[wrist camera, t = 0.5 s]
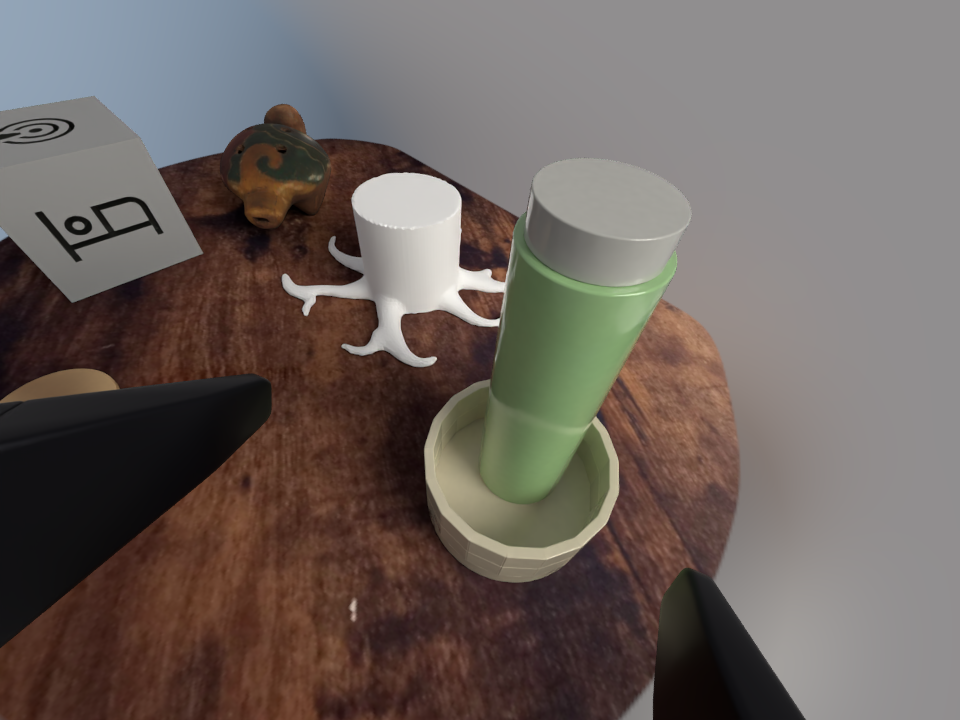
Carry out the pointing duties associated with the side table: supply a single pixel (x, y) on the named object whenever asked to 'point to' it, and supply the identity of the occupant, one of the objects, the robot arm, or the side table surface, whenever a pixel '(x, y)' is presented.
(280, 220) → the ocarina
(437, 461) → the bowl
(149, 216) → the icon cube
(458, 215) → the tree stump
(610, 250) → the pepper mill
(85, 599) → the side table surface
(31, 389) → the coaster
